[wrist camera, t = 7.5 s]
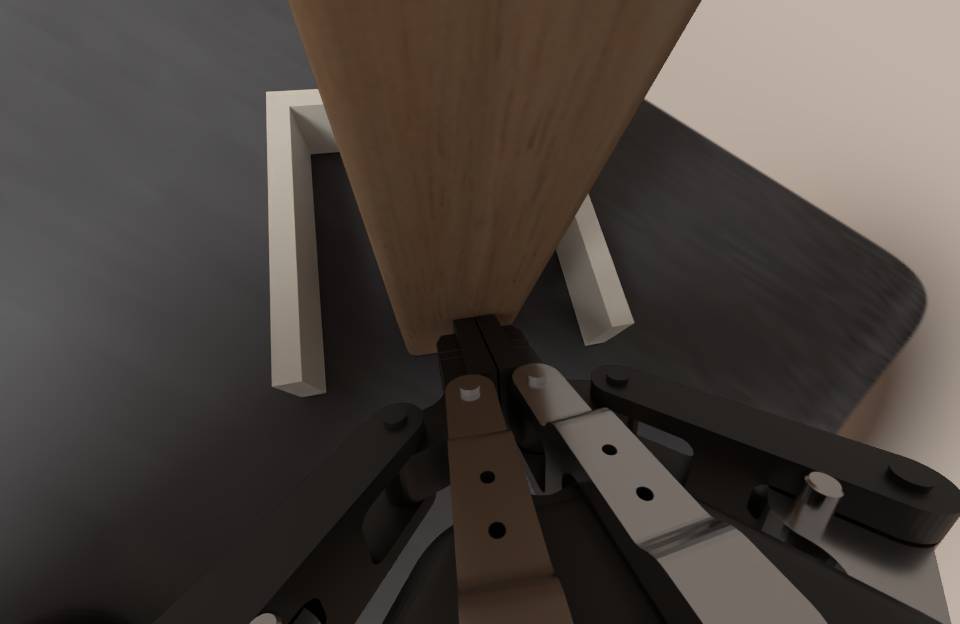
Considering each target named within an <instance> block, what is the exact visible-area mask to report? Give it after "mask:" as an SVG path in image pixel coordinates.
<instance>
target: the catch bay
mask: <svg viewBox="0 0 960 624" xmlns="http://www.w3.org/2000/svg"><path fill="white" fill-rule="evenodd" d="M266 111H267V163H268V214H269V266H270V318H271V369H272V387H274V388H277V389H280V390H283V391H286V392H288V393H291V394H294V395H297V396H300V397H307V396H312V395H318V394H323V393H326V380H325V365H324V350H323V335H322V320H321V305H320V290H319V275H318V260H317V245H316V230H315V215H314V200H313V185H312V170H311V155H310V154H320V153H332V152H339V149H338V146H337V143H336V140H335V137H334V134H333V131H332V128H331V126H330V123H329V120H328V117H327V114H326V111H325V108H324V105H323V102H322V99H321V96H320V93H319V90H318V89H312V90H294V91H275V92H266ZM556 252H557V255H558V258H559V262H560V265H561V268H562V271H563V275H564V278H565V281H566V285H567V288H568V291H569V294H570V298H571V301H572V304H573V308H574V311H575V314H576V318H577V321H578V324H579V327H580V331H581V334H582V337H583V341H584V344H585V346H587V345H593V344H598V343H604V342H606V341H607V340H609V339H610V338H612V337H613V336H615V335H617V334H618V333H620V332H621V331H623V330H624V329H626V328H628V327H629V326H631V325H632V324H634V320H633V318H632V315H631V312H630V309H629V306H628V303H627V301H626V298H625V295H624V292H623V289H622V287H621V284H620V281H619V278H618V275H617V273H616V270H615V267H614V264H613V261H612V258H611V256H610V253H609V250H608V247H607V244H606V242H605V239H604V236H603V233H602V230H601V227H600V225H599V222H598V219H597V216H596V213H595V211H594V208H593V205H592V202H591V199H590V197H589V194H588V195H587V197H586V198H585V200H584V202H583V203H582V205H581V207H580V209H579V210H578V212H577V214H576V215H575V217H574V219H573V221H572V222H571V224H570V226H569V227H568V229H567V231H566V232H565V234H564V236H563V238H562V239H561V241H560V243H559V244H558V246H557V248H556Z"/></svg>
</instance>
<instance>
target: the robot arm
mask: <svg viewBox="0 0 960 624" xmlns="http://www.w3.org/2000/svg"><path fill="white" fill-rule="evenodd" d="M453 330H454V334H449V335H442V336H440V338H439V340H438V342H437V352H438V359H439V367H440V374H441V381H442V386H443V391H444V395H443V396H442V398H441V399H440V400H439V401H438V402H437V403H435V404H434V405H432V406H430V407H428V408H426V409H424V410H422V411H421V409H420V408H419V407H417V406H416V405H413V404H410V403H395V404H391V405H388V406H385V407H383V408H381V409H380V410H378V411H377V412H376V413H375V414H373V415H372V416H371V417H370V418H369V419H368V420H367V421H366V422H365V423H364V424H363V425H362V426H361V427H360V428H359V429H358V430H356V431H355V432H354V433H353V434H352V435H351V436H350V437H349V438H348V439H347V440H346V441H345V442H344V443H343V444H342V445H341V446H340V447H339V448H337V449H336V450H335V451H334V452H333V453H332V454H331V455H330V456H329V457H328V458H327V459H326V460H325V461H324V462H323V463H322V464H321V465H319V466H318V467H317V468H316V469H315V470H314V471H313V472H312V473H311V474H310V475H309V476H308V477H307V478H306V479H305V480H304V481H303V482H301V483H300V484H299V485H298V486H297V487H296V488H295V489H294V490H293V491H292V492H291V493H290V494H289V495H288V496H287V497H286V498H285V499H283V500H282V501H281V502H280V503H279V504H278V505H277V506H276V507H275V508H274V509H273V510H272V511H271V512H270V513H269V514H268V515H267V516H266V517H264V518H263V519H262V520H261V521H260V522H259V523H258V524H257V525H256V526H255V527H254V528H253V529H252V530H251V531H250V532H249V533H248V534H246V535H245V536H244V537H243V538H242V539H241V540H240V541H239V542H238V543H237V544H236V545H235V546H234V547H233V548H232V549H231V550H230V551H228V552H227V553H226V554H225V555H224V556H223V557H222V558H221V559H220V560H219V561H218V562H217V563H216V564H215V565H214V566H213V567H212V568H211V569H209V570H208V571H207V572H206V573H205V574H204V575H203V576H202V577H201V578H200V579H199V580H198V581H197V582H196V583H195V584H194V585H193V586H191V587H190V588H189V589H188V590H187V591H186V592H185V593H184V594H183V595H182V596H181V597H180V598H179V599H178V600H177V601H176V602H175V603H173V604H172V605H171V606H170V607H169V608H168V609H167V610H166V611H165V612H164V613H163V614H162V615H161V616H160V617H159V618H158V619H157V620H155V621H154V622H153V623H152V624H355V622H356V621H357V619H358V618H359V616H360V615H361V613H362V611H363V610H364V608H365V607H366V605H367V604H368V602H369V601H370V599H371V598H372V596H373V595H374V593H375V592H376V590H377V589H378V587H379V585H380V584H381V582H382V581H383V579H384V578H385V576H386V575H387V573H388V572H389V570H390V569H391V567H392V566H393V564H394V563H395V561H396V560H397V558H398V556H399V555H400V553H401V552H402V550H403V549H404V547H405V546H406V544H407V543H408V541H409V540H410V538H411V537H412V535H413V534H414V532H415V531H416V529H417V527H418V526H419V524H420V523H421V521H422V520H423V518H424V517H425V515H426V514H427V512H428V511H429V509H430V508H431V506H432V504H433V503H434V500H435V497H436V492H438V491H440V490H442V489H443V488H445V487H447V486H449V485H451V498H452V512H453V525H452V526H451V527H449V528H448V529H447V530H445V531H444V532H443V533H442V534H440V535H439V536H438V537H437V538H436V539H435V540H434V541H433V542H432V543H431V544H430V545H429V546H428V548H427V549H426V550H425V551H424V553H423V554H422V555H421V557H420V558H419V560H418V561H417V563H416V565H415V566H414V568H413V570H412V571H411V573H410V575H409V577H408V579H407V580H406V582H405V584H404V586H403V587H402V589H401V591H400V593H399V595H398V596H397V598H396V600H395V602H394V603H393V605H392V607H391V609H390V611H389V612H388V614H387V616H386V618H385V619H384V621H383V623H382V624H951V621H950V616H949V612H948V608H947V603H946V599H945V595H944V591H943V586H942V582H941V578H940V573H939V569H938V565H937V560H936V556H935V552H934V550H935V549H936V547H937V546H938V545H939V543H940V542H941V540H942V539H943V538H944V537H945V535H946V534H947V533H948V531H949V530H950V529H951V527H952V526H953V525H954V523H955V522H956V520H957V519H958V518H959V517H960V490H959V489H958V488H957V487H956V486H955V485H954V484H953V483H952V482H951V481H949V480H948V479H947V478H945V477H944V476H943V475H941V474H940V473H938V472H936V471H935V470H933V469H931V468H929V467H927V466H925V465H923V464H921V463H919V462H917V461H914V460H912V459H909V458H906V457H903V456H900V455H897V454H894V453H891V452H888V451H885V450H881V449H879V448H875V447H872V446H869V445H866V444H863V443H860V442H856V441H854V440H851V439H847V438H844V437H841V436H838V435H835V434H832V433H829V432H826V431H823V430H819V429H816V428H813V427H810V426H807V425H804V424H801V423H798V422H795V421H791V420H788V419H785V418H782V417H779V416H776V415H773V414H770V413H767V412H764V411H760V410H757V409H754V408H751V407H748V406H745V405H742V404H739V403H736V402H732V401H729V400H726V399H723V398H720V397H717V396H714V395H711V394H708V393H704V392H701V391H698V390H695V389H692V388H689V387H686V386H683V385H680V384H676V383H673V382H670V381H667V380H664V379H661V378H658V377H655V376H652V375H648V374H645V373H642V372H639V371H636V370H633V369H630V368H627V367H623V366H618V365H606V366H601V367H599V368H597V369H595V370H594V371H593V372H592V375H591V381H586V380H568V379H565V378H564V377H563V376H562V375H561V374H560V372H559V371H558V370H556V369H555V368H553V367H551V366H549V365H545V364H542V363H541V361H540V360H539V358H538V357H537V355H536V353H535V352H534V350H533V349H532V347H531V346H529V343H528V341H527V340H526V339H525V337H524V335H523V334H522V332H521V331H520V330H519V329H517V328H515V327H513V326H512V325H505V326H501V325H500V323H499V321H498V320H497V318H496V316H495V315H494V314H491V315H484V316H477V317H474V318H473V317H471V318H465V319H458V320H453ZM639 421H640V422H642V423H645V424H647V425H650V426H652V427H655V428H657V429H660V430H662V431H665V432H667V433H670V434H672V435H675V436H677V437H680V438H682V439H684V440H685V441H686V442H688V443H689V444H690V446H691V447H692V449H693V453H694V455H693V456H687V455H684V454H681V453H679V452H677V451H674V450H672V449H669V448H667V447H665V446H662V445H660V444H658V443H655V442H653V441H651V440H648V439H646V438H644V437H641V436H639V435H637V430H638V423H639ZM513 435H514V436H513ZM523 469H524V470H523ZM524 471H525V473H526V475H527V477H528V479H529V481H530V483H531V485H532V487H533V489H534V491H535V493H536V495H531V493H530V490H529V487H528V483H527V480H526V476H525V473H524Z"/></svg>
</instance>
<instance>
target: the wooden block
mask: <svg viewBox="0 0 960 624" xmlns="http://www.w3.org/2000/svg"><path fill="white" fill-rule="evenodd" d="M288 2H289V5H290V8H291V11H292V14H293V17H294V20H295V23H296V26H297V29H298V32H299V35H300V38H301V41H302V43H303V46H304V49H305V52H306V55H307V58H308V61H309V64H310V67H311V70H312V73H313V76H314V79H315V82H316V84H317V87H318V90H319V93H320V96H321V99H322V102H323V105H324V108H325V111H326V114H327V117H328V120H329V123H330V126H331V128H332V131H333V134H334V137H335V140H336V143H337V146H338V149H339V152H340V155H341V158H342V161H343V164H344V167H345V169H346V172H347V175H348V178H349V181H350V184H351V187H352V190H353V193H354V196H355V199H356V202H357V205H358V208H359V211H360V213H361V216H362V219H363V222H364V225H365V228H366V231H367V234H368V237H369V240H370V243H371V246H372V249H373V252H374V254H375V257H376V260H377V263H378V266H379V269H380V272H381V275H382V278H383V281H384V284H385V287H386V290H387V293H388V296H389V299H390V302H391V305H392V308H393V311H394V314H395V317H396V320H397V323H398V326H399V328H400V331H401V334H402V337H403V340H404V343H405V345H406V348H407V350H408V352H409V353H410V354H411V355H416V356H419V355H425V354H431V353H438V352H437V342H438V340H439V338H440V336H442V335H449V334H454V330H453V320H458V319H465V318H471V317H473V318H474V317H477V316H484V315H491V314H494V315H495V316H496V318H497V320H498V321H499V323H500V325H501V326H505V325H512V323H513V321H514V320H515V318H516V316H517V314H518V313H519V311H520V309H521V308H522V306H523V304H524V302H525V301H526V299H527V297H528V296H529V294H530V292H531V291H532V289H533V287H534V285H535V284H536V282H537V280H538V279H539V277H540V275H541V273H542V272H543V270H544V268H545V267H546V265H547V263H548V262H549V260H550V258H551V256H552V255H553V253H554V251H555V250H556V248H557V246H558V244H559V243H560V241H561V239H562V238H563V236H564V234H565V232H566V231H567V229H568V227H569V226H570V224H571V222H572V221H573V219H574V217H575V215H576V214H577V212H578V210H579V209H580V207H581V205H582V203H583V202H584V200H585V198H586V197H587V195H588V193H589V192H590V190H591V188H592V186H593V185H594V183H595V181H596V180H597V178H598V176H599V174H600V173H601V171H602V169H603V168H604V166H605V164H606V162H607V161H608V159H609V157H610V156H611V154H612V152H613V151H614V149H615V147H616V145H617V144H618V142H619V140H620V139H621V137H622V135H623V133H624V132H625V130H626V128H627V127H628V125H629V123H630V122H631V120H632V118H633V116H634V115H635V113H636V111H637V110H638V108H639V106H640V104H641V103H642V101H643V99H644V98H645V96H646V94H647V92H648V91H649V89H650V87H651V86H652V83H653V82H654V81H655V79H656V77H657V75H658V74H659V72H660V70H661V69H662V67H663V65H664V63H665V62H666V60H667V58H668V57H669V55H670V53H671V51H672V50H673V48H674V46H675V45H676V43H677V41H678V40H679V38H680V36H681V34H682V33H683V31H684V29H685V28H686V26H687V24H688V22H689V21H690V19H691V17H692V16H693V14H694V12H695V11H696V9H697V7H698V5H699V4H700V2H701V0H288Z"/></svg>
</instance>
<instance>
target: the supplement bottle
mask: <svg viewBox="0 0 960 624" xmlns="http://www.w3.org/2000/svg"><path fill="white" fill-rule="evenodd" d="M19 624H122V623H121V622H119V621H117V620H115V619H113V618H111V617H109V616H106V615H103V614H100V613H95V612H90V611H63V612H57V613H51V614H47V615H43V616H39V617H36V618H33V619H30V620H27V621H24V622H22V623H19Z"/></svg>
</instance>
